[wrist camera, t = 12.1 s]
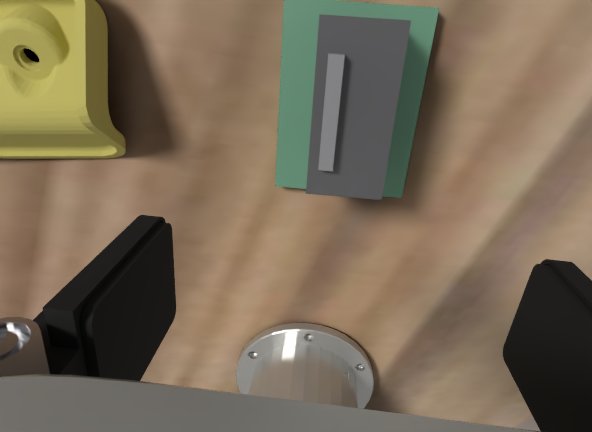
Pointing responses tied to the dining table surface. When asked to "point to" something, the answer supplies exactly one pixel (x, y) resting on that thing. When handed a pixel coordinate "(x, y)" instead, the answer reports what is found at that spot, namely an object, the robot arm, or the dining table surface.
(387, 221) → the dining table surface
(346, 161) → the plug
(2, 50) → the plastic component
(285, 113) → the header
